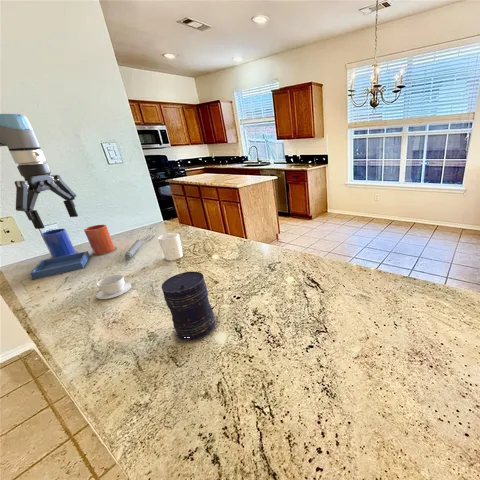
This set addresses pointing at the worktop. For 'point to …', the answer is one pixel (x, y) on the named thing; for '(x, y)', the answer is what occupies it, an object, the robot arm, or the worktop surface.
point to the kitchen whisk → (135, 246)
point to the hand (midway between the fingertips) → (58, 222)
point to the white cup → (171, 246)
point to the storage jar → (189, 305)
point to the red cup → (99, 239)
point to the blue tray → (60, 265)
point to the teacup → (112, 287)
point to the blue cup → (58, 243)
